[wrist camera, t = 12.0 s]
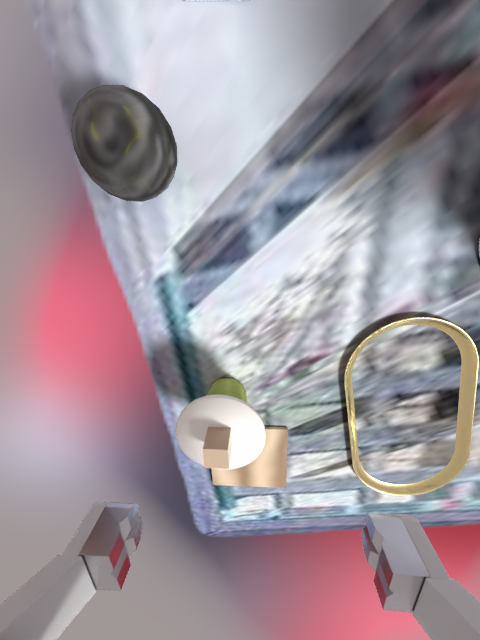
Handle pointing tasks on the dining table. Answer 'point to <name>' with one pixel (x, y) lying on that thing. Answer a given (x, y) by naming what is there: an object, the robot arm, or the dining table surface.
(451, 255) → the dining table surface
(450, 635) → the robot arm
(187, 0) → the milk carton
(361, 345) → the oval gold ring
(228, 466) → the lid
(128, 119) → the decorative stone
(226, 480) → the mat
